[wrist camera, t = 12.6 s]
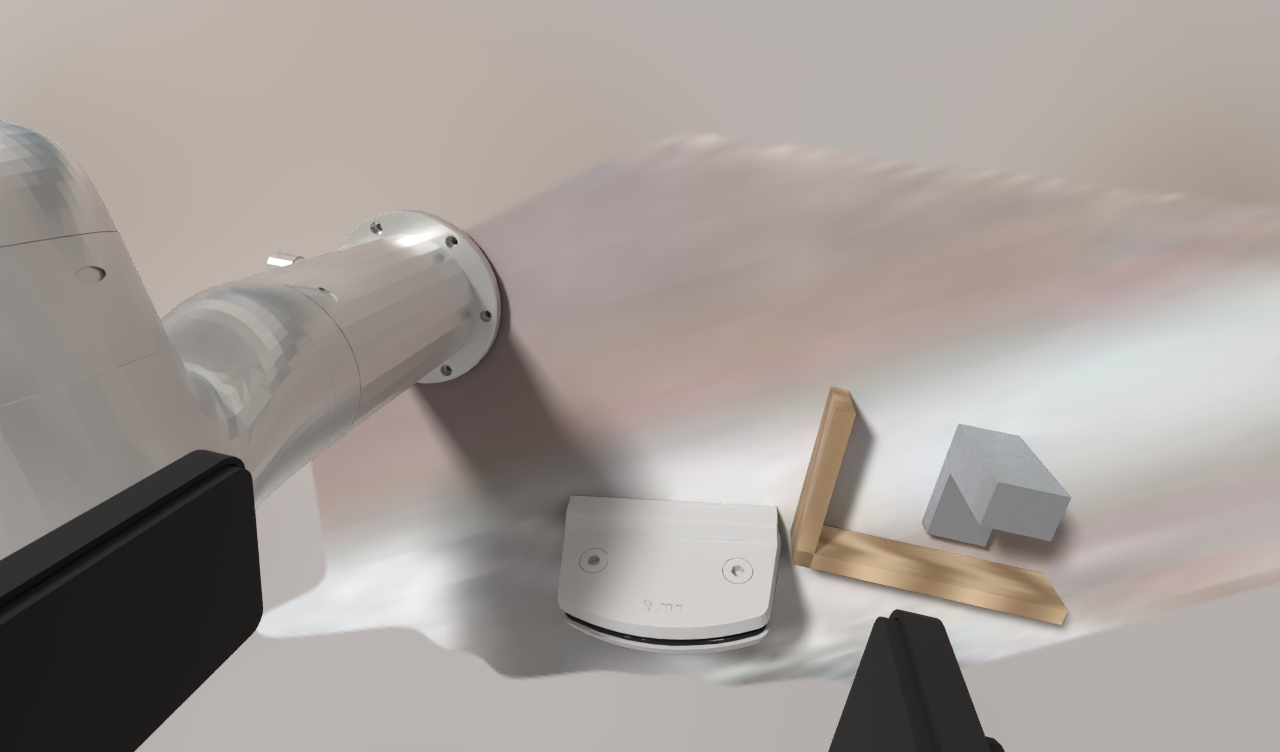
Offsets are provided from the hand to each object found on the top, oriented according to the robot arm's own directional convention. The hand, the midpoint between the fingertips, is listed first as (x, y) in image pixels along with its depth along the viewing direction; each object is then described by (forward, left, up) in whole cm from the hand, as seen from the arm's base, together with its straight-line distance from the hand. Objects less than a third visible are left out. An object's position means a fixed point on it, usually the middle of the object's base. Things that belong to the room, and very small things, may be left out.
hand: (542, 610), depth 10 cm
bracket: (+21, -13, -36) cm, 44 cm away
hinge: (+2, -24, -37) cm, 44 cm away
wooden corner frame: (+19, -15, -36) cm, 44 cm away
